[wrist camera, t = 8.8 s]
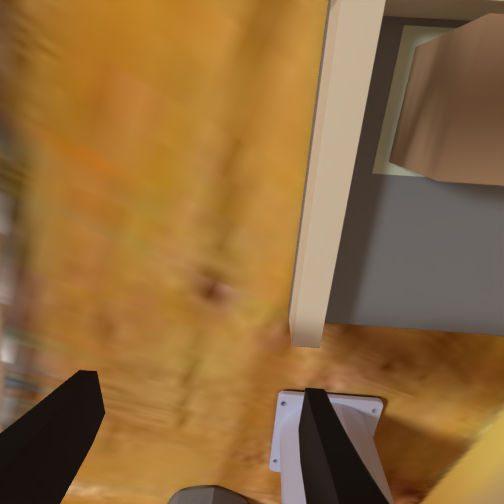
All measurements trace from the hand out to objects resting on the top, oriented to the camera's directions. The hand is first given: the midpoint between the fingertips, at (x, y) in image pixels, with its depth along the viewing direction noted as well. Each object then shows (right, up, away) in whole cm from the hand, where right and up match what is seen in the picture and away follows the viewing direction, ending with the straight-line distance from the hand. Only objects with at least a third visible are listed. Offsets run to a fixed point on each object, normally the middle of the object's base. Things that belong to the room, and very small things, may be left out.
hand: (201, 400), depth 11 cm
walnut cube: (+11, +12, +4) cm, 17 cm away
